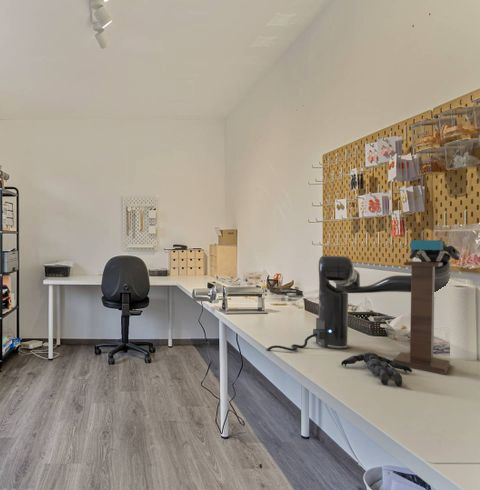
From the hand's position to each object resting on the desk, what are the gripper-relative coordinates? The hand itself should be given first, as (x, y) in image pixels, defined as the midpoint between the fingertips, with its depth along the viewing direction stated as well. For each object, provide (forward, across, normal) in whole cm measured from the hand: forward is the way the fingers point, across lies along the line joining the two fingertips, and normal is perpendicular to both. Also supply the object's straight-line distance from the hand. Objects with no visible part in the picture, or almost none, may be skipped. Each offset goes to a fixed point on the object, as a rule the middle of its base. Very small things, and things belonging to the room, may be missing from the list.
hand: (430, 242), depth 123 cm
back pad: (+2, 0, -4) cm, 4 cm away
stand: (-6, 0, -41) cm, 42 cm away
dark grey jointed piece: (+11, +8, -51) cm, 53 cm away
